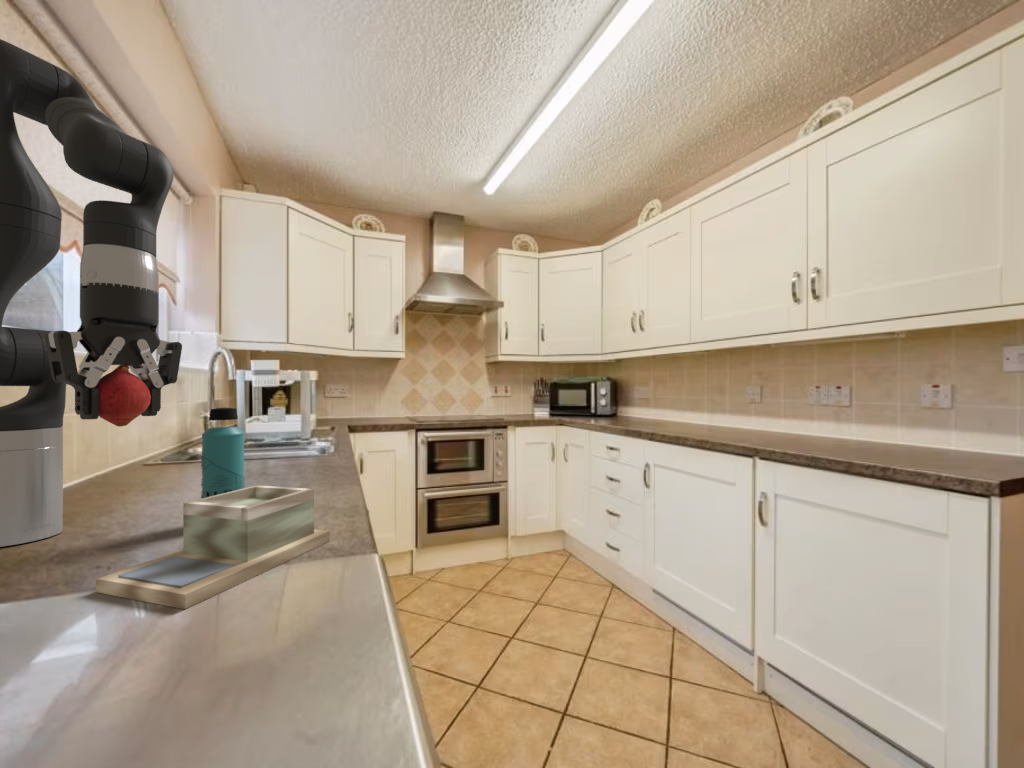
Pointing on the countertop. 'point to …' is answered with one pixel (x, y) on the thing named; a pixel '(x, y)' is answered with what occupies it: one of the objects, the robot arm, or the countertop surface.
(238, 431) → the beverage bottle
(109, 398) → the onion
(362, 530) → the countertop surface
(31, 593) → the countertop surface
